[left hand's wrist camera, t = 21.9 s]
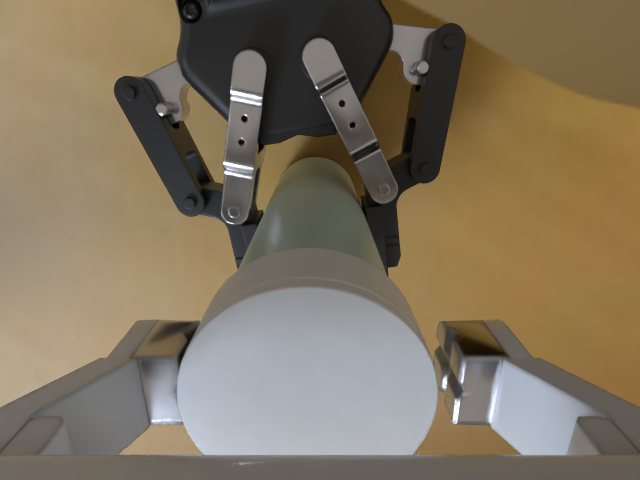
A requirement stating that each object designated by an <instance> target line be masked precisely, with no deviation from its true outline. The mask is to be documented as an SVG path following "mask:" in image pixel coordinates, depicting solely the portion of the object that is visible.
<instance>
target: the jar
mask: <svg viewBox="0 0 640 480" xmlns="http://www.w3.org/2000/svg"><path fill="white" fill-rule="evenodd" d="M297 248H323V249H328V250H334V251H339V252H342V253H346V254H349V255H352V256H355V257H357V258H359V259H361V260H364V261H366V262H367V263H369V264H371V265H372V266H374V267H376V268H377V269H379V270H380V271H381V272H382V273H384V274H385V275H386V276H387V274H386V271H385V269H384V266H383V263H382V261H381V258H380V255H379V253H378V250H377V247H376V245H375V242H374V239H373V237H372V234H371V231H370V228H369V226H368V223H367V220H366V218H365V215H364V212H363V210H362V207H361V204H360V202H359V199H358V196H357V194H356V191H355V188H354V186H353V183H352V180H351V178H350V177H349V175H348V173H347V172H346V171H345V170H344V169H343V168H342V167H341V166H340V165H339V164H337V163H336V162H334V161H332V160H329V159H326V158H322V157H309V158H304V159H301V160H299V161H297V162H295V163H293V164H292V165H291V166H289V167H288V168H287V169H286V170H285V172H284V173H283V174H282V176H281V178H280V180H279V182H278V184H277V186H276V188H275V191H274V193H273V195H272V197H271V199H270V201H269V204H268V206H267V208H266V210H265V212H264V214H263V217H262V219H261V221H260V223H259V225H258V227H257V230H256V232H255V234H254V236H253V238H252V240H251V243H250V245H249V247H248V249H247V251H246V253H245V256H244V258H243V260H242V262H241V264H240V266H239V269H238V270H240V269H241V268H243V267H244V266H246V265H247V264H249V263H251V262H253V261H255V260H257V259H259V258H261V257H263V256H266V255H269V254H272V253H275V252H279V251H284V250H289V249H297Z"/></svg>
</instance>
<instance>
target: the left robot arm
mask: <svg viewBox="0 0 640 480" xmlns="http://www.w3.org/2000/svg"><path fill="white" fill-rule="evenodd" d="M199 324H200V321H183V320H139V321H137V322H136V323H135V324H134V325H133V326H132V327H131V329H130V330H129V331H128V332H127V334H126V335H125V336H124V337H123V338H122V340H121V341H120V342H119V343H118V345H117V346H116V347H115V348H114V349H113V351H112V352H111V353H110V354H109V356H108V357H107V358H99V359H97V360H95V361H93V362H91V363H89V364H87V365H85V366H83V367H81V368H79V369H77V370H75V371H73V372H71V373H69V374H67V375H65V376H63V377H61V378H59V379H57V380H55V381H53V382H51V383H49V384H47V385H45V386H43V387H41V388H39V389H37V390H35V391H33V392H31V393H29V394H27V395H24V396H22V397H20V398H18V399H16V400H14V401H12V402H10V403H8V404H6V405H4V406H2V407H0V480H640V407H638V406H636V405H633V404H631V403H629V402H627V401H625V400H623V399H621V398H619V397H617V396H615V395H613V394H611V393H609V392H607V391H605V390H603V389H601V388H599V387H597V386H595V385H593V384H591V383H589V382H587V381H585V380H583V379H581V378H579V377H577V376H575V375H573V374H571V373H569V372H567V371H565V370H563V369H561V368H559V367H557V366H555V365H553V364H551V363H549V362H547V361H545V360H543V359H541V358H533V357H532V356H531V354H530V353H529V352H528V351H527V349H526V348H525V347H524V346H523V345H522V343H521V342H520V341H519V340H518V338H517V337H516V336H515V335H514V334H513V332H512V331H511V330H510V329H509V328H508V326H507V325H506V324H505V323H504V322H503V321H501V320H475V321H441V322H439V324H438V327H437V335H436V336H437V339H438V341H439V343H440V346H439V347H438V348H437V349H436V350H435V352H434V366H435V370H436V373H437V380H438V388H439V390H441V391H442V392H443V393H445V394H446V395H445V405H446V408H447V410H448V412H449V415H450V417H451V420H452V422H453V424H463V425H491V428H492V429H493V430H495V431H496V432H497V433H498V434H499V435H500V436H501V437H503V438H504V439H505V440H506V441H507V442H508V443H509V444H511V445H512V446H513V447H514V448H515V449H516V450H517V451H518V452H520V453H521V454H522V455H118V454H119V453H121V452H122V451H123V450H124V449H125V448H126V447H127V446H129V445H130V444H131V443H132V442H133V441H134V440H135V439H137V438H138V437H139V436H140V435H141V434H142V433H143V432H145V431H146V430H147V429H148V428H149V425H176V424H184V423H183V421H182V418H181V414H180V411H179V407H178V399H177V378H178V373H179V369H180V364H181V361H182V359H183V356H184V354H185V352H186V349H187V347H188V345H189V343H190V342H191V340H192V338H193V336H194V334H195V332H196V330H197V328H198V326H199Z"/></svg>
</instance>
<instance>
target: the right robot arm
mask: <svg viewBox="0 0 640 480" xmlns="http://www.w3.org/2000/svg"><path fill="white" fill-rule="evenodd" d="M175 1H176V5H177V8H178V12H179V16H180V23H181V33H180V40H179V45H178V48H177V60H176V61H174V62H172V63H170V64H168V65H166V66H164V67H162V68H160V69H158V70H156V71H154V72H151V73H149V74H147V75H145V76H143V77H133V76H124V77H121V78H120V79H118V80H117V82H116V83H115V86H114V94H115V97H116V99H117V101H118V103H119V104H120V106H121V108H122V110H123V111H124V113H125V115H126V117H127V119H128V120H129V122H130V124H131V126H132V128H133V129H134V131H135V133H136V135H137V137H138V138H139V140H140V142H141V144H142V145H143V147H144V149H145V151H146V153H147V154H148V156H149V158H150V160H151V162H152V163H153V165H154V167H155V169H156V170H157V172H158V174H159V176H160V178H161V179H162V181H163V183H164V185H165V187H166V188H167V190H168V192H169V194H170V195H171V197H172V199H173V201H174V203H175V204H176V206H177V208H178V210H179V211H180V212H181V213H182V214H184V215H186V216H190V217H193V216H197V215H199V214H200V215H205V216H211V217H215V218H218V219H220V220H221V221H222V222H224V224H225V225H226V226H227V228H228V231H229V235H230V239H231V243H232V247H233V252H234V256H235V260H236V264H237V268H238V269H239V266H240V264H241V262H242V260H243V258H244V256H245V253H246V251H247V249H248V247H249V245H250V243H251V240H252V238H253V236H254V234H255V232H256V230H257V227H258V225H259V223H260V221H261V219H262V217H263V214H264V213H263V210H257V205H256V201H257V195H258V189H259V182H260V175H261V168H262V164H263V160H264V155H265V149H266V145H269V144H276V143H281V142H283V141H285V140H287V139H289V138H292V137H294V136H296V135H305V136H314V137H321V136H328V135H334V134H336V132H337V131H338V132H339V134H340V136H341V138H342V140H343V142H344V144H345V146H346V148H347V150H348V152H349V154H350V156H351V158H352V160H353V162H354V164H355V166H356V168H357V170H358V172H359V174H360V176H361V178H362V180H363V183H364V192H365V195H364V196H361V204H362V210H363V212H364V215H365V218H366V220H367V223H368V226H369V228H370V231H371V234H372V237H373V239H374V242H375V245H376V247H377V250H378V253H379V255H380V258H381V261H382V263H383V266H384V269H385V271H386V274H387V277H388V267H395V266H397V265H398V262H399V259H400V256H401V254H400V244H399V243H400V242H399V231H398V219H397V208H396V204H397V200H398V198H399V196H400V195H401V193H402V192H404V191H405V190H407V189H408V188H410V187H412V186H414V185H416V184H418V183H429V182H431V181H433V180H434V179H435V178H436V177H437V176H438V174H439V171H440V166H441V161H442V156H443V151H444V146H445V141H446V136H447V131H448V126H449V121H450V117H451V112H452V107H453V102H454V97H455V92H456V87H457V82H458V77H459V72H460V67H461V62H462V57H463V52H464V47H465V41H466V37H465V33H464V31H463V29H462V28H461V27H460V26H459V25H457V24H454V23H449V24H445V25H443V26H440V27H438V28H435V29H433V28H424V27H415V26H406V25H397V24H393V23H392V19H391V17H390V15H389V13H388V12H387V10H386V9H385V7H384V5H383V4H382V2H381V0H175ZM388 53H391V54H393V55H394V56H395V57H396V58H397V60H398V63H399V74H400V77H401V79H402V80H403V82H405V83H406V84H408V85H412V88H411V94H410V100H409V106H408V112H407V118H406V124H405V130H404V137H403V143H402V149H401V154H399V155H397V156H396V157H394V158H392V159H390V160H388V161H386V159H385V157H384V155H383V153H382V151H381V149H380V146H379V143H378V141H377V138H376V136H375V134H374V132H373V130H372V128H371V126H370V124H369V121H368V119H367V117H366V115H365V113H364V111H363V109H362V107H361V103H362V101H363V99H364V97H365V95H366V94H367V92H368V90H369V88H370V86H371V84H372V82H373V80H374V78H375V76H376V74H377V73H378V71H379V69H380V67H381V65H382V63H383V61H384V59H385V57H386V55H387V54H388ZM191 86H192V87H193V88H194V89H195V90H196V91H197V92H198V93H199V94H200V95H201V96H202V97H203V98H204V99H205V100H206V101H207V102H208V103H209V104H210V105H211V106H212V107H213V108H214V109H215V110H216V111H217V112H218V113H219V114H220V115H221V116H222V117H223V118H225V119H226V120H227V121H228V127H227V136H226V144H225V153H224V170H225V175H224V184H221V183H216V182H214V180H213V178H212V176H211V174H210V172H209V170H208V168H207V166H206V164H205V162H204V160H203V158H202V156H201V155H200V153H199V151H198V149H197V147H196V145H195V143H194V141H193V139H192V137H191V135H190V133H189V131H188V129H187V127H186V125H185V123H184V120H185V119H186V118H187V117H188V115H189V104H188V101H187V92H188V90H189V88H190V87H191Z"/></svg>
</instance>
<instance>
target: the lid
mask: <svg viewBox="0 0 640 480" xmlns="http://www.w3.org/2000/svg"><path fill="white" fill-rule="evenodd" d="M177 399H178V407H179V411H180V414H181V418H182V421H183V423H184V425H185V428H186V430H187V432H188V433H189V435H190V437H191V438H192V440H193V442H194V443H195V444H196V446H197V447H198V448H199V449H200V450H201V452H202V453H203V454H204V455H412V454H413V453H414V452H415V451H416V450H417V449H418V447H419V446H420V444H421V443H422V442H423V440H424V439H425V437H426V435H427V433H428V431H429V430H430V428H431V425H432V422H433V420H434V417H435V413H436V408H437V403H438V380H437V373H436V370H435V366H434V363H433V360H432V357H431V355H430V353H429V350H428V348H427V345H426V343H425V341H424V338H423V336H422V334H421V331H420V329H419V327H418V324H417V322H416V320H415V317H414V315H413V313H412V310H411V308H410V306H409V304H408V302H407V300H406V298H405V297H404V295H403V294H402V292H401V291H400V290H399V288H398V287H397V286H396V285H395V284H394V283H393V282H392V281H391V280H390V278H389V277H387V276H386V275H385V274H384V273H382V272H381V271H380V270H379V269H377V268H376V267H374V266H372V265H371V264H369V263H367V262H366V261H364V260H361V259H359V258H357V257H355V256H352V255H349V254H346V253H342V252H339V251H334V250H328V249H323V248H297V249H289V250H284V251H279V252H275V253H272V254H269V255H266V256H263V257H261V258H259V259H257V260H255V261H253V262H251V263H249V264H247V265H246V266H244V267H243V268H241V269H240V270H238V271H237V272H236V273H235V274H233V275H232V276H231V277H230V278H229V279H228V280H227V281H226V282H225V283H224V284H223V285H222V287H221V288H220V289H219V290H218V292H217V293H216V295H215V296H214V298H213V300H212V301H211V303H210V305H209V307H208V309H207V311H206V313H205V315H204V317H203V318H202V320H201V322H200V324H199V326H198V328H197V330H196V332H195V334H194V336H193V338H192V340H191V342H190V343H189V345H188V347H187V349H186V352H185V354H184V356H183V359H182V361H181V364H180V369H179V373H178V378H177Z"/></svg>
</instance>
